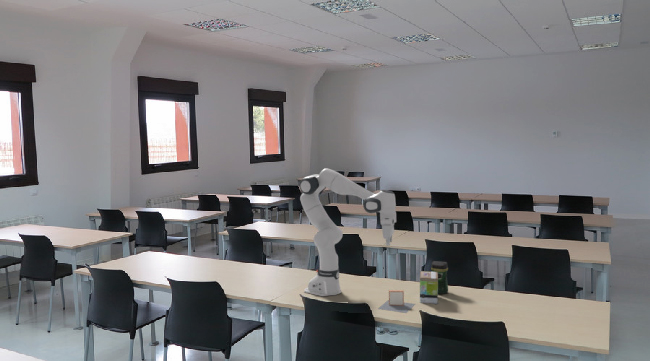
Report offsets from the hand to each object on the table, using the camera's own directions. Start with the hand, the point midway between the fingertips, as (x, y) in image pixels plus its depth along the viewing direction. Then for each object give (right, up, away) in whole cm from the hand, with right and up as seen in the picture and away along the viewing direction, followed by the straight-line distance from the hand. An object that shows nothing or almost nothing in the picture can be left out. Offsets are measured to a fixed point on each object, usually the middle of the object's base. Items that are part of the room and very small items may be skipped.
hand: (389, 243), depth 290 cm
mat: (+3, -34, -8) cm, 35 cm away
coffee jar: (+32, -31, +18) cm, 48 cm away
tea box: (+23, -33, +4) cm, 40 cm away
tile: (+3, -33, -6) cm, 34 cm away
